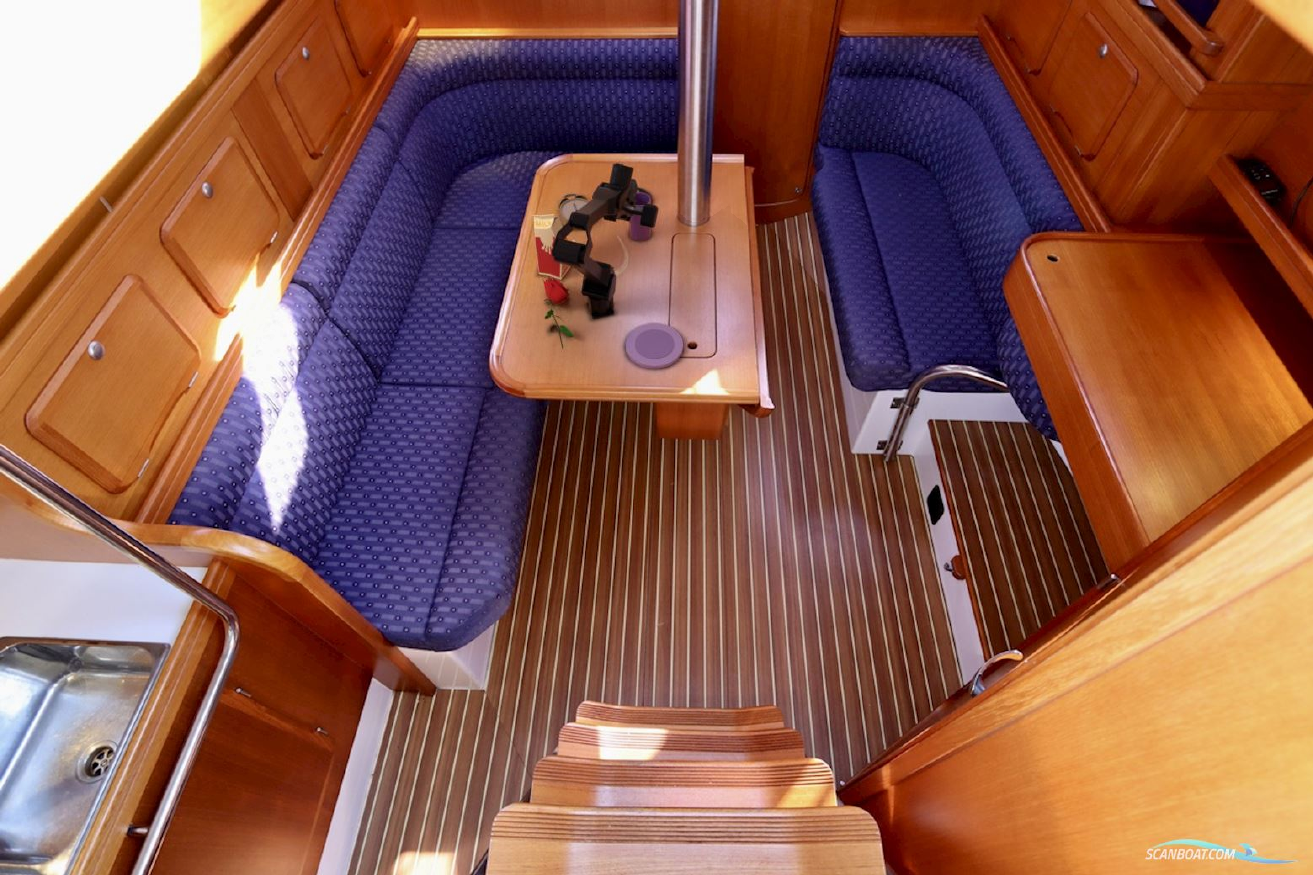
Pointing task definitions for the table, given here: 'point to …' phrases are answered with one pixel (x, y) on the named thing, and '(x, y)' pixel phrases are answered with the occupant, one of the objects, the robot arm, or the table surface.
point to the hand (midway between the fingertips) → (632, 215)
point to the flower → (556, 301)
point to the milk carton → (548, 245)
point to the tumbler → (635, 228)
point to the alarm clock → (570, 206)
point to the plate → (654, 345)
